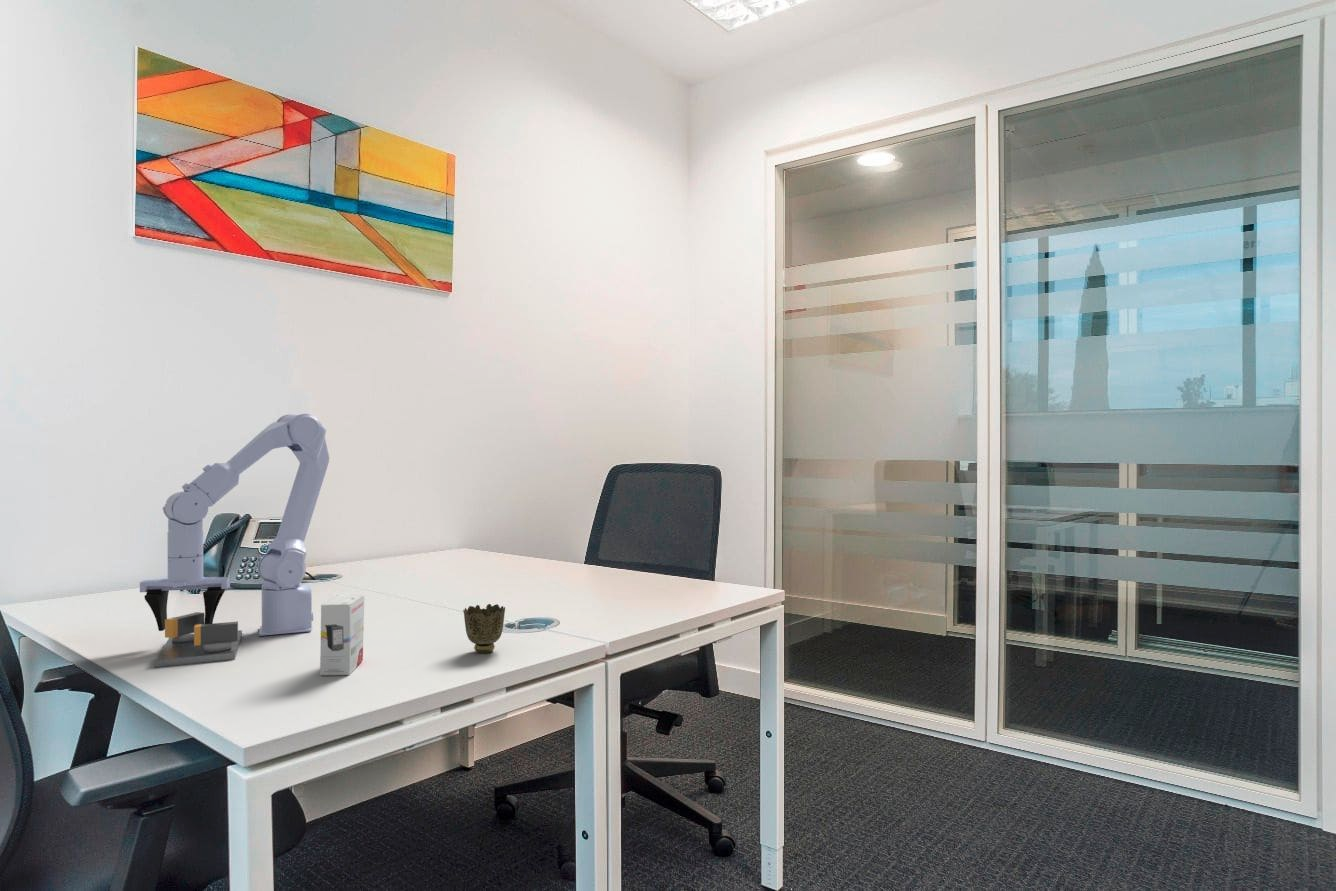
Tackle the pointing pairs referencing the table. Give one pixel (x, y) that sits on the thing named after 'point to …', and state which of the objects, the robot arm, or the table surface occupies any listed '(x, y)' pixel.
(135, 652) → the table surface
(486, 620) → the cup
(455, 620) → the table surface
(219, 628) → the knob
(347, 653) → the ink box
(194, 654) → the plate
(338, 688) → the table surface
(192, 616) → the knob
